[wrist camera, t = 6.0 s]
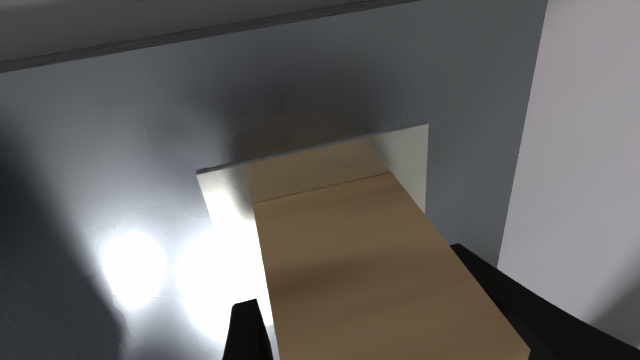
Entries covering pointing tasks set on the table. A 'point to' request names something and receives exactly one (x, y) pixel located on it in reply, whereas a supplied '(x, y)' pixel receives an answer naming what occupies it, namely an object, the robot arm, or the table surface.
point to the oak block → (372, 280)
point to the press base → (240, 160)
